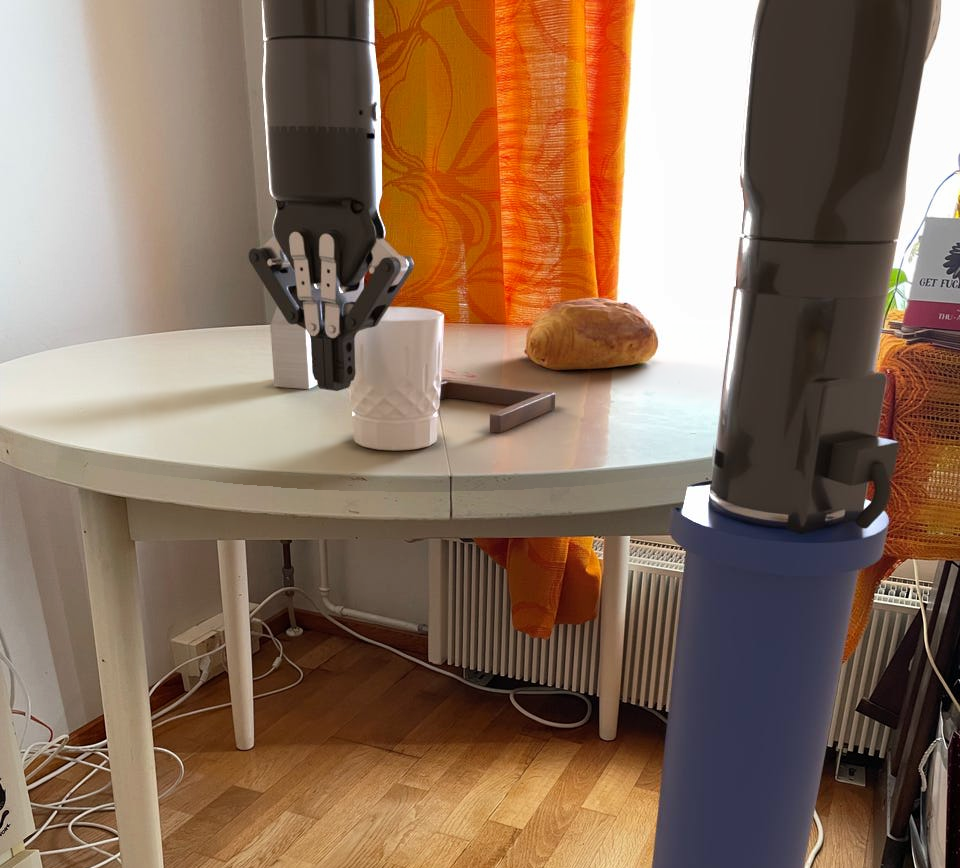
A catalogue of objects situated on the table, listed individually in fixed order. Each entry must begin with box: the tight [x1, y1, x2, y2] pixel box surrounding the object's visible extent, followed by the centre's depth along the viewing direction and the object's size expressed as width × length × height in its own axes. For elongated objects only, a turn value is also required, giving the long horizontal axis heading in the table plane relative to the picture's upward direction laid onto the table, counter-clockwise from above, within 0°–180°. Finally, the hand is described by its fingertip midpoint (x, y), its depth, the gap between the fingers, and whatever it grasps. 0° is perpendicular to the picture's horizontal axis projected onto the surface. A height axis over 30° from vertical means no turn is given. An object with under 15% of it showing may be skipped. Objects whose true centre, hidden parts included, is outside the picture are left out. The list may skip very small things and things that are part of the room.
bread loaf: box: [523, 297, 659, 371], centre depth 116 cm, size 14×16×8 cm
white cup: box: [347, 306, 445, 452], centre depth 81 cm, size 8×8×10 cm
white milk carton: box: [269, 284, 318, 390], centre depth 103 cm, size 4×7×10 cm, turn 166°
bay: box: [440, 378, 556, 434], centre depth 93 cm, size 11×12×2 cm
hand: (334, 388), depth 75 cm, fingers closed
